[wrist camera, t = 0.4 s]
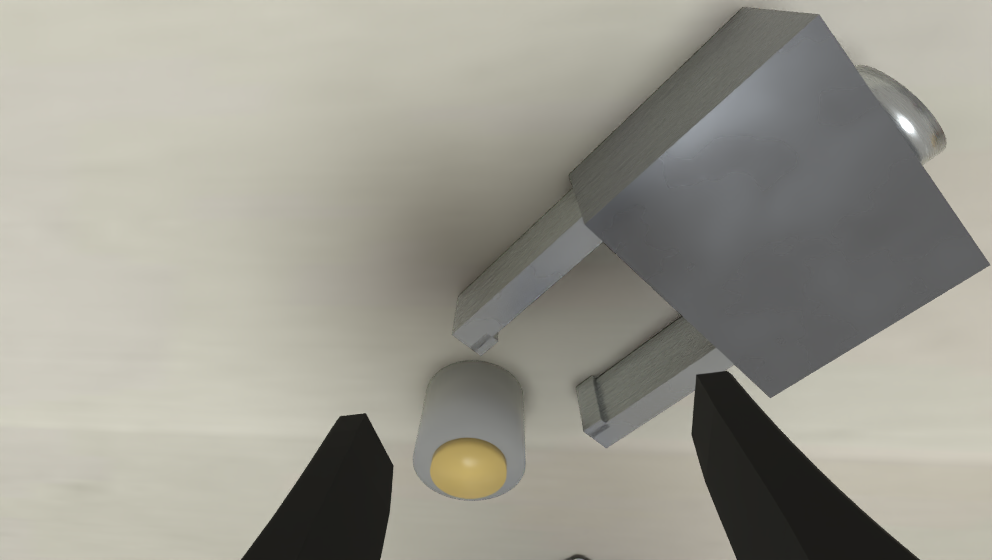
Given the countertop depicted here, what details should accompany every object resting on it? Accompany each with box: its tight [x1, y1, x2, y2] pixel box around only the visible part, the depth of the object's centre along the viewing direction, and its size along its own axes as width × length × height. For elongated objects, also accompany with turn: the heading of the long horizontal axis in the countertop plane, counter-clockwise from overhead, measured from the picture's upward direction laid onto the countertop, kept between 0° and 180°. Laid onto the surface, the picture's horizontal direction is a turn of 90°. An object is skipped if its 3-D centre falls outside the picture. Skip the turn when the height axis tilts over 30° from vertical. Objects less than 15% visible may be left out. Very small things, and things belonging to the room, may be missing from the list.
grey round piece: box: [413, 361, 526, 501], centre depth 23 cm, size 5×5×4 cm
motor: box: [452, 7, 990, 448], centre depth 18 cm, size 16×10×5 cm, turn 137°
